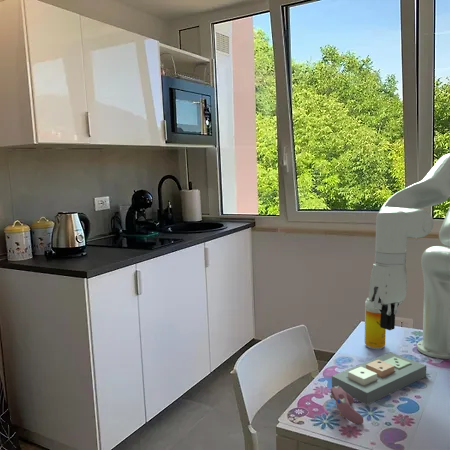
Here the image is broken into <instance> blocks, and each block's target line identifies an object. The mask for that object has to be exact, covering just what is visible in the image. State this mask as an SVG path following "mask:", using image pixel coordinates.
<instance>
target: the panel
mask: <svg viewBox="0 0 450 450" xmlns="http://www.w3.org/2000/svg"><path fill="white" fill-rule="evenodd" d="M392 357H397V358H399V359H402V360H405V361H407V362H410V363H411V365H409V366H407V367H405V368H403V369H401V370H398V369H396V368H394V373H392V374H389V375H387V376H385V377H383V378H382V377H380V376H377V380H376V381H374V382H372V383H369V384H367V385H365V386H363V385H361V384H359V383H357V382H355V381H353V380H351V379H348V372H349V371H351V370H354V369H356V368H359V367H363V368H366V364H368V363H371V362H373V361H376V360H381V361H385V360H388V359H390V358H392ZM425 377H427V365H426V364H423V363H421V362H419V361H415V360H413V359H410V358H407V357H405V356H402V355H399V354H398V353H394V352H388V353H385V354H382V355H380V356H378V357H375V358H373V359H370V360H368V361H366V362H363V363H360V364H358V365H356V366H353V367H350V368H348V369H346V370H343V371H341V372H338V373H335V374H334V375H332V376H331V388H333V387H335V386H336V387H337V386H338V385H339V387H341V388H342V389H343V390H344V391H345V392H347V393H348V394H350V395H351V396H352V397H353V399H354V400H357V401H359V402H360V403H362V404H365V405H367V406H368V405H370V404H372V403H374V402H376V401H378V400H380V399H382V398H384V397H386V396H389V395H390V394H393V393H394V392H396V391H399V390H400V389H403V388H405V387H408V385H412V384H414V383H415V382H417V381H420V380H421V379H423V378H425Z"/></svg>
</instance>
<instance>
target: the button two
mask: <svg viewBox="0 0 450 450" xmlns="http://www.w3.org/2000/svg"><path fill="white" fill-rule="evenodd" d="M366 369H368V370H370V371H373V372H375V373H377V376H380V377H382V378H383V377H385V376H387V375H389V374H392V373H394V365H391V364H389V363H386V362H383V361H381V360H376V361H373V362H371V363H368V364H366Z"/></svg>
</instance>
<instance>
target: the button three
mask: <svg viewBox="0 0 450 450" xmlns="http://www.w3.org/2000/svg"><path fill="white" fill-rule="evenodd" d="M383 362H386V363H389V364H391V365H394V368H396V369H398V370H401V369H403V368H405V367H407V366H409V365H411V363H410V362H407V361H405V360H402V359H399V358H397V357H392V358H390V359H388V360H385V361H383Z"/></svg>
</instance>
